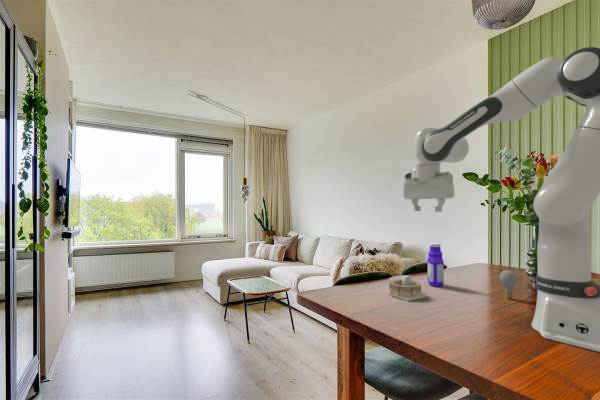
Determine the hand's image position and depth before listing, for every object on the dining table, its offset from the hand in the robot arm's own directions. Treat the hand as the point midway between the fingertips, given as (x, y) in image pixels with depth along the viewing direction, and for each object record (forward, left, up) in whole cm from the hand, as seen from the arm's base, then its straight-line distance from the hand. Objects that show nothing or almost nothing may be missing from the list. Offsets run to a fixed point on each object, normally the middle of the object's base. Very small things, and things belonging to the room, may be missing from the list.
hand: (427, 211), depth 120 cm
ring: (+6, +6, -30) cm, 31 cm away
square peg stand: (+5, +6, -31) cm, 32 cm away
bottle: (+10, -16, -31) cm, 37 cm away
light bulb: (-16, -22, -31) cm, 42 cm away
